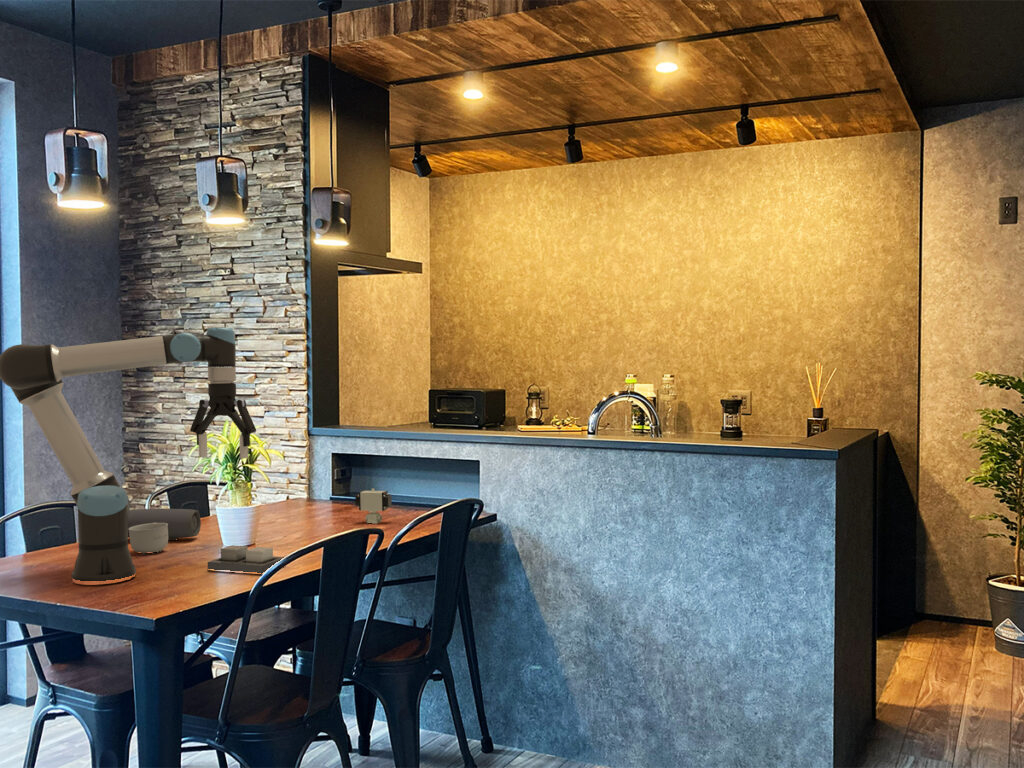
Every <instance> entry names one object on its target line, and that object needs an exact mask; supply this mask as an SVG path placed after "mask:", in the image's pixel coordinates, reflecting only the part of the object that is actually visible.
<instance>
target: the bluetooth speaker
mask: <svg viewBox="0 0 1024 768" xmlns="http://www.w3.org/2000/svg"><path fill="white" fill-rule="evenodd" d="M127 520H128V529H129V528H130V527H133V526H137V525H142V524H149V523H155V522H156V523H167V524H168V540H176V539H180V538H181V539H182V538H193V537H196V536H198V535H199V533H200V531H201V525H202V520H201V515H200V511H199V510H198V509H189V508H188V509H187V508H161V507H160V508H143V509H142V508H140V509H129V513H128V516H127ZM128 538H130V536H129V530H128ZM176 541H177V540H176Z"/></svg>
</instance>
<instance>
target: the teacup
mask: <svg viewBox="0 0 1024 768" xmlns="http://www.w3.org/2000/svg"><path fill="white" fill-rule="evenodd" d="M128 530H129V536H130V537H129V542H130V543H129V544H130V548H131V549H132V550H133V552H136V553H137V552H141V553H147V552H157V553H160V552H162V551H163V550H164V549H165V548H166V547H167V546H168V544H169V541H168V524H167V523H156V522H155V523H149V524H142V525H137V526H133V527H130V528H129V529H128ZM159 551H160V552H159Z"/></svg>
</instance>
